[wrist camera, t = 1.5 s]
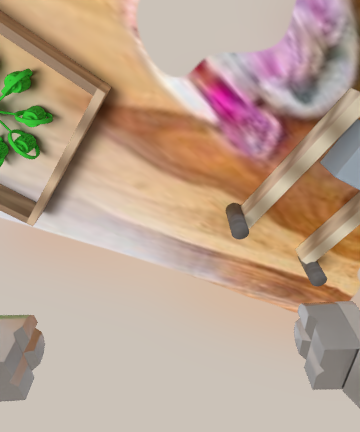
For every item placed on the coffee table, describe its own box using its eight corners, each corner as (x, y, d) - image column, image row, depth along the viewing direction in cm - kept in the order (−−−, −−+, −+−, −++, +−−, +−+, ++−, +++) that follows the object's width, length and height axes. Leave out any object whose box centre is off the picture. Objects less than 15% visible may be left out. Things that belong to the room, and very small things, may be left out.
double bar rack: (341, 79, 39) (366, 88, 34) (426, 159, 45) (459, 177, 40) (222, 211, 49) (228, 234, 44) (305, 263, 55) (318, 288, 49)
